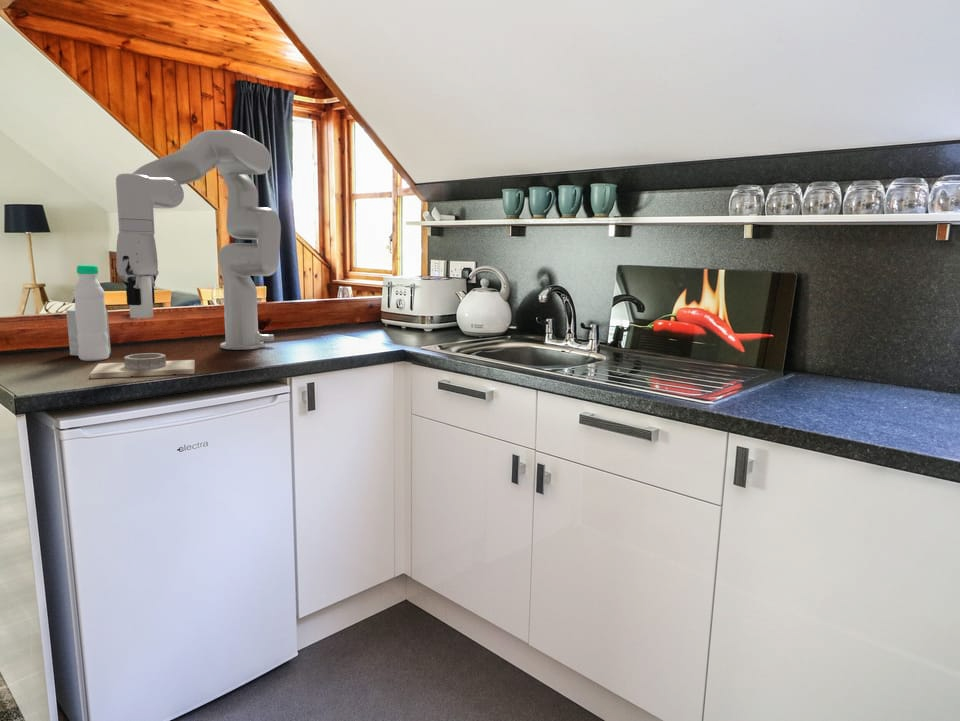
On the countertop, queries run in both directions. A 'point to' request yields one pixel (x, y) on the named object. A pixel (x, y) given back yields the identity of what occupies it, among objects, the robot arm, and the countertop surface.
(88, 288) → the milk bottle
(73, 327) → the supplement box
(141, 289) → the white round post
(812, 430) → the countertop surface
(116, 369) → the board
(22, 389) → the countertop surface
